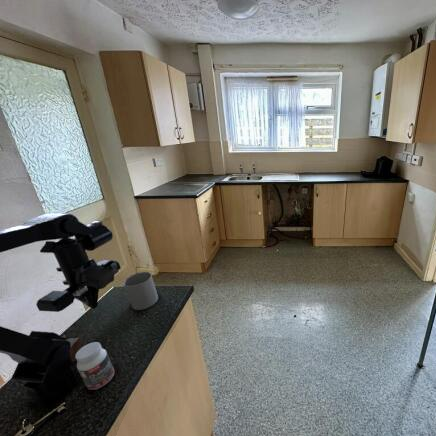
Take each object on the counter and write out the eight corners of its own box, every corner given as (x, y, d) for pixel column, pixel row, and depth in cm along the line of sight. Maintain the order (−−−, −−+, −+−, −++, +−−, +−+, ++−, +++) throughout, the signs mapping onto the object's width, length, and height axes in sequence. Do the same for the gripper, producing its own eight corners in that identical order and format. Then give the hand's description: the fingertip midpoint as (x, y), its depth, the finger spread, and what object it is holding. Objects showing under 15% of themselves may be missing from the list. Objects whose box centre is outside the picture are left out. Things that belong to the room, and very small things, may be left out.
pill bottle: (97, 393, 56) (82, 364, 53) (81, 386, 58) (65, 358, 54) (120, 371, 61) (108, 343, 58) (105, 365, 63) (91, 337, 59)
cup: (143, 312, 81) (135, 288, 77) (126, 307, 84) (117, 283, 80) (163, 296, 88) (156, 273, 85) (147, 292, 91) (139, 270, 87)
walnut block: (73, 363, 64) (66, 351, 62) (55, 365, 64) (49, 353, 62) (84, 348, 68) (79, 337, 67) (68, 350, 68) (62, 339, 66)
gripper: (64, 283, 51) (90, 336, 57) (129, 243, 69) (143, 287, 74) (21, 281, 53) (50, 334, 58) (94, 243, 70) (111, 286, 76)
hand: (94, 307), depth 67 cm, fingers closed
